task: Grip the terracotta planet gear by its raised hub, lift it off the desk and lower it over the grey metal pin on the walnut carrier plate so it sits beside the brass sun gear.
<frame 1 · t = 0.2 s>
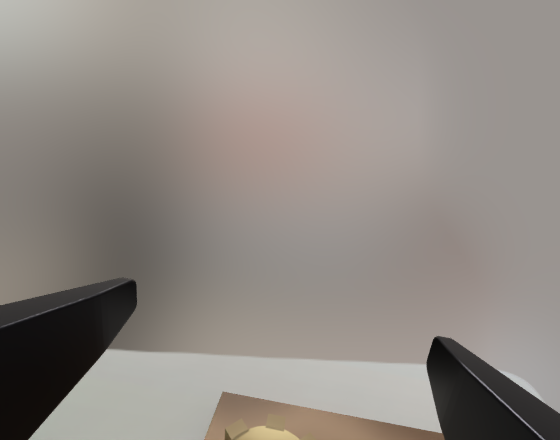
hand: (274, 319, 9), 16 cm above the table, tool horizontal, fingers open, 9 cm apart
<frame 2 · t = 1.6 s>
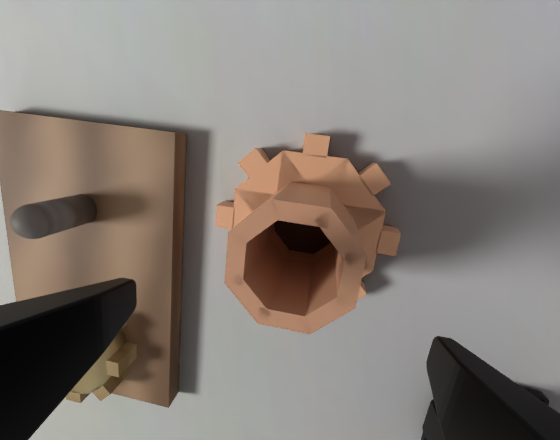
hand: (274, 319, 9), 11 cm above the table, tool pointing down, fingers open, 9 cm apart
carrier: (100, 204, 21), on the table
planet gear: (305, 223, 19), on the table
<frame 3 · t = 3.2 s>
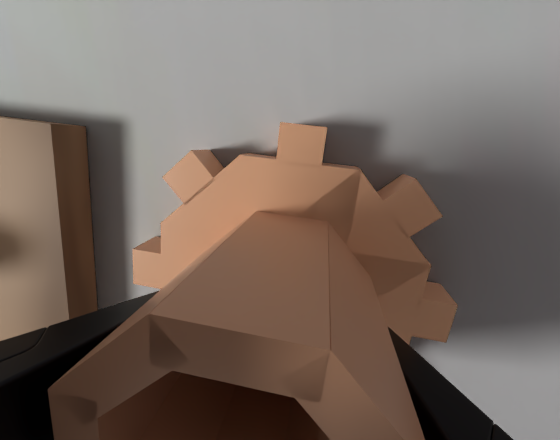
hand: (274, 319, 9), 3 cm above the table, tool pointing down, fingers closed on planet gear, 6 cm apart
planet gear: (287, 274, 11), on the table, touching gripper
when the fingers open (6 cm above the table, at t = 8.0 s): planet gear drops 1 cm, resting on carrier.
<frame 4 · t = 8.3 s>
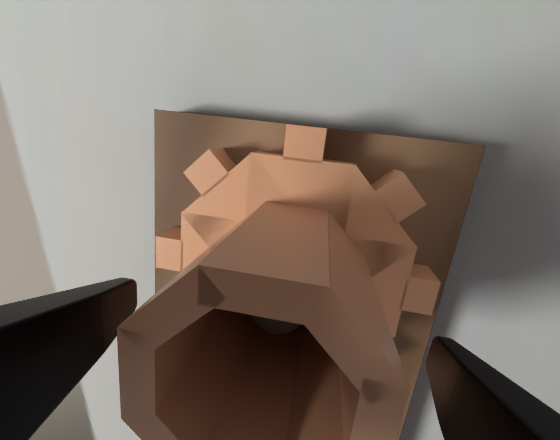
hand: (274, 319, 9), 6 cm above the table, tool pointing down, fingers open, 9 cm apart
carrier: (294, 249, 14), on the table
planet gear: (292, 259, 13), point 1 cm above the table, touching carrier
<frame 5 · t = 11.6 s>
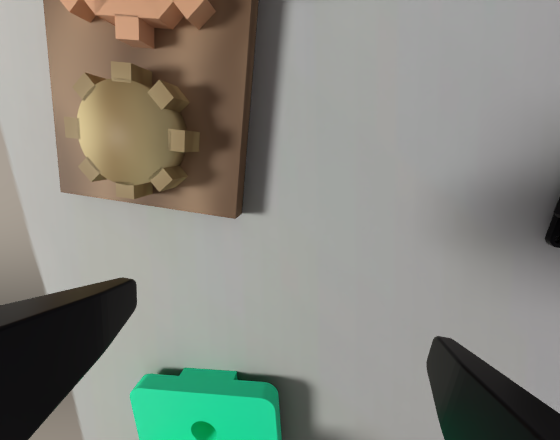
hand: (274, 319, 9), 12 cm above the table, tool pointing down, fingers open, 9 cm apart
camera mount: (216, 402, 26), on the table
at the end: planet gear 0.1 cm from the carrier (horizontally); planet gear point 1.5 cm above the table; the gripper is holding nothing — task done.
